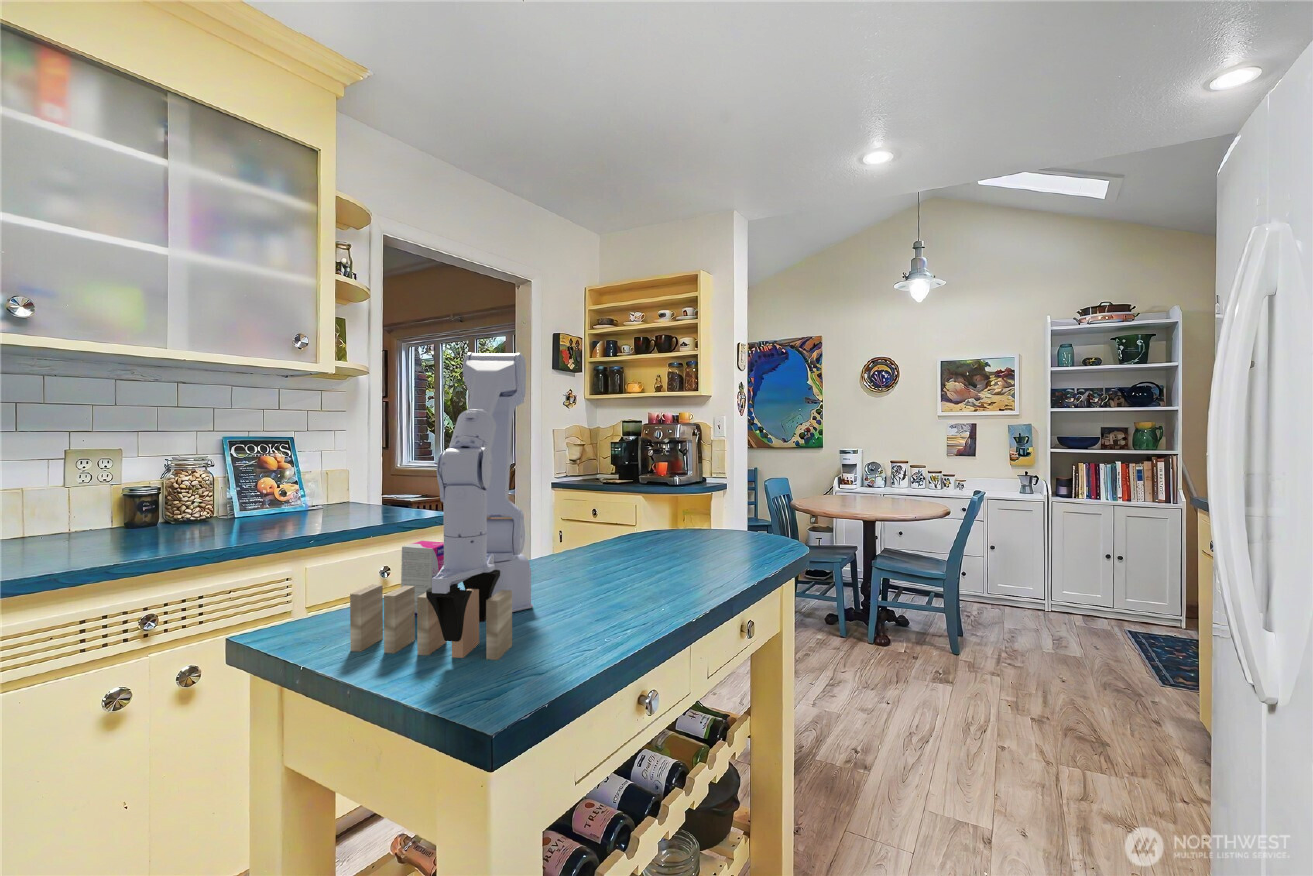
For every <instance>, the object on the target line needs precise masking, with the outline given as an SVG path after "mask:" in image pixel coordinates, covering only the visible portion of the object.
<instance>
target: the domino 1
mask: <svg viewBox="0 0 1313 876" xmlns="http://www.w3.org/2000/svg"><path fill="white" fill-rule="evenodd" d="M383 586H384V585H383V584H371V585H368V586H366V587H363V588H361V589H358V590H356V591H354V592H352V593H350V594H349V597H350V598H349V613H350V615H349V616H350V620H349V621H350V622H349V623H350V624H349V625H350V627H349V630H350V634H349V636H350V638H349V639H350V651H351V652H360V653H361V652H363V651H365V650H367V649H368V648H370V647H371V646H373V645H375V644H376V643H378V642H380V641H381V640H384V595H383V594H384V593H383Z"/></svg>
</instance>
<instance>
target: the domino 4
mask: <svg viewBox="0 0 1313 876" xmlns="http://www.w3.org/2000/svg"><path fill="white" fill-rule="evenodd" d="M467 590H471V591H472V593H471V595H470V597H469V600H468V602H467V606H466V609H465V615H464V624H463V633H462V637H461V640H460V641H458V642H454V641H451V658H455V659H456V658H460V659H463V658H465V657H466V656H467V655H468V654H469V653H471V652H472V651H473V650H474V649H475V648H477V647H478V646H479V645H480V622H479V589H467ZM478 644H479V645H478ZM477 645H478V646H477ZM476 646H477V647H476ZM473 648H474V649H473Z"/></svg>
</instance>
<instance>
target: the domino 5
mask: <svg viewBox="0 0 1313 876" xmlns="http://www.w3.org/2000/svg"><path fill="white" fill-rule="evenodd" d="M485 622H486V623H485V624H486V627H485V630H486V633H485V634H486V636H485V637H486V638H485V640H486V644H485V645H486V646H485V647H486V651H485V652H486V653H485V654H486V655H485V657H486V660H488V659H490V660H491V661H499V660H500V659H501V658H502V657H503V656H504V655H505V654H506V653H507V652H508V651H509V650H510V649H511V648H512V647H513V612H512V591H510V590H501V591H499V592H498V593H496V594H495V595H493V596H492V597H491V598H489V599H488V600H486V620H485ZM509 648H510V649H509ZM505 652H506V653H505Z"/></svg>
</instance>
